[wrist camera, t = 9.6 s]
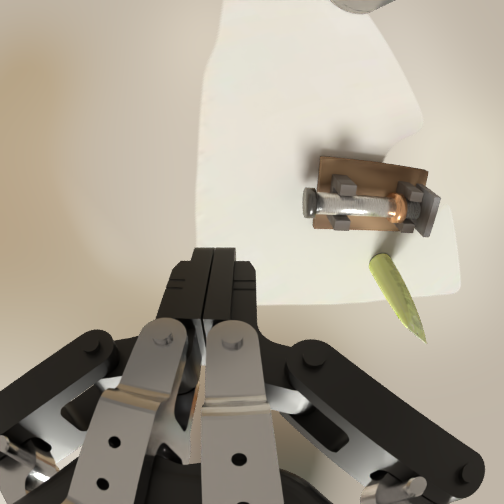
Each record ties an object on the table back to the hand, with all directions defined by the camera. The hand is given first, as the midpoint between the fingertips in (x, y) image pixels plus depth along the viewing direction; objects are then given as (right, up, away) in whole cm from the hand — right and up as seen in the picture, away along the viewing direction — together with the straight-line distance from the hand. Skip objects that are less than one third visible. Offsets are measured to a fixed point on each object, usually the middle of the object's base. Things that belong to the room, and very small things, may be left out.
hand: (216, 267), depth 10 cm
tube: (+27, -1, +40) cm, 48 cm away
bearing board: (+22, +10, +32) cm, 40 cm away
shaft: (+19, +9, +30) cm, 37 cm away
